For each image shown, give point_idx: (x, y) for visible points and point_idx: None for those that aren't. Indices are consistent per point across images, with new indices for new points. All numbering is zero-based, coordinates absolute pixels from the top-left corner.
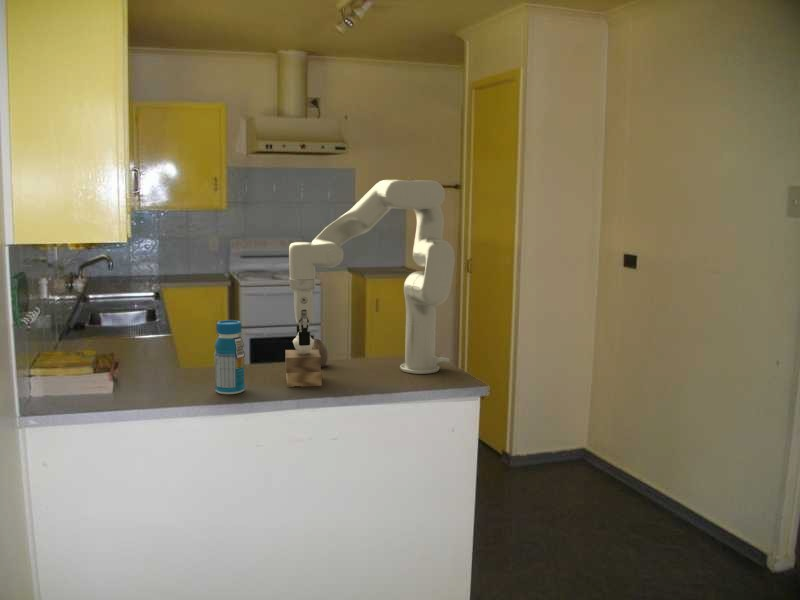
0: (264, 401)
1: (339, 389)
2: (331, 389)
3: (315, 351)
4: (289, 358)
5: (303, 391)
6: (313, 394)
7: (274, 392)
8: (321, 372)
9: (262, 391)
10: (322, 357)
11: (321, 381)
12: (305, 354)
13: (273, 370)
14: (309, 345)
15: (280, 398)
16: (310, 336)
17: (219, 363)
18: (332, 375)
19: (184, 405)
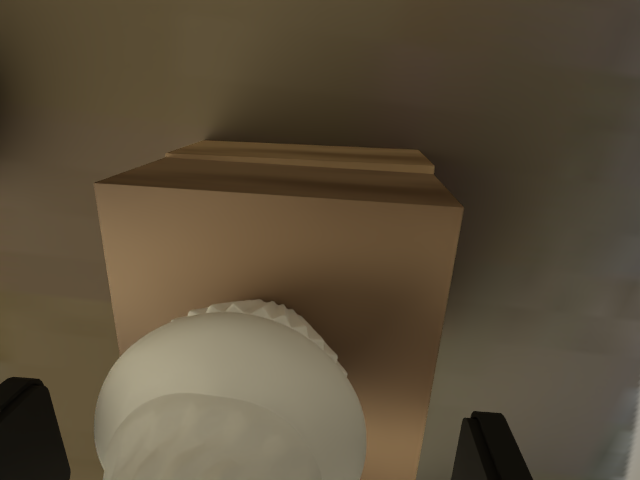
0: (626, 452)
1: (544, 37)
2: (525, 96)
3: (195, 227)
4: (416, 458)
5: (513, 269)
6: (599, 223)
7: (485, 400)
8: (434, 167)
9: (450, 442)
10: None
11: (423, 155)
12: (320, 335)
13: (61, 362)
14: (337, 365)
15: (605, 387)
16: (205, 415)
17: None
18: (166, 39)
19: None
